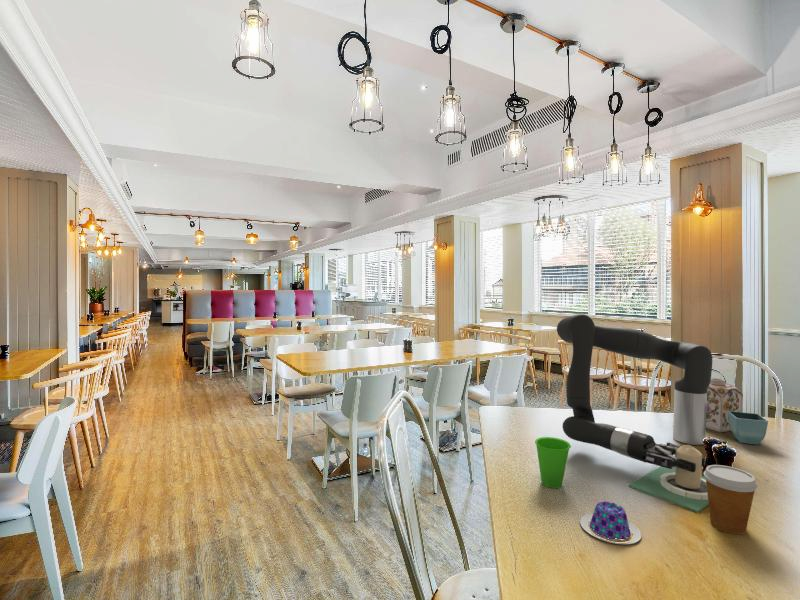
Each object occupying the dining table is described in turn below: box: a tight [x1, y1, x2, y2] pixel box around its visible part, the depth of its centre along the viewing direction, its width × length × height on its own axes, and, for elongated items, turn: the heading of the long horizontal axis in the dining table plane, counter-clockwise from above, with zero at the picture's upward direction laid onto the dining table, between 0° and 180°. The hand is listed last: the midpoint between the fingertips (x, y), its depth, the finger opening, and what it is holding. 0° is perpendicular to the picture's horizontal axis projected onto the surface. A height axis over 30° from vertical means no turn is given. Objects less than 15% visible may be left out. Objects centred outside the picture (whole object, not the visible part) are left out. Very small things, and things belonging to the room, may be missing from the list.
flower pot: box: [728, 411, 769, 446], centre depth 147 cm, size 9×9×9 cm
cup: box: [534, 436, 572, 489], centre depth 115 cm, size 9×9×11 cm
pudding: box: [579, 501, 642, 545], centre depth 94 cm, size 12×12×5 cm
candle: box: [675, 444, 703, 489], centre depth 112 cm, size 6×6×10 cm
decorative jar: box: [706, 377, 744, 433], centre depth 162 cm, size 12×12×18 cm
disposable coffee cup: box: [703, 464, 759, 535], centre depth 95 cm, size 10×10×12 cm
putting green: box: [628, 466, 709, 514], centre depth 114 cm, size 22×16×2 cm
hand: (699, 465), depth 110 cm, fingers closed on candle, 5 cm apart
